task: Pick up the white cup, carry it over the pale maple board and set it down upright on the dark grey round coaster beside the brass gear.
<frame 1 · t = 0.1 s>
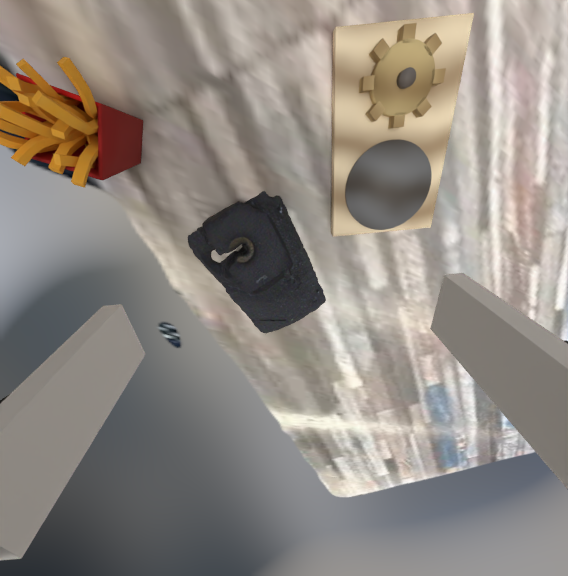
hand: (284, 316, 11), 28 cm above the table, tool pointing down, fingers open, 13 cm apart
gear board: (386, 144, 32), on the table
dark slate chunk: (262, 268, 41), on the table
french fries: (115, 123, 30), on the table
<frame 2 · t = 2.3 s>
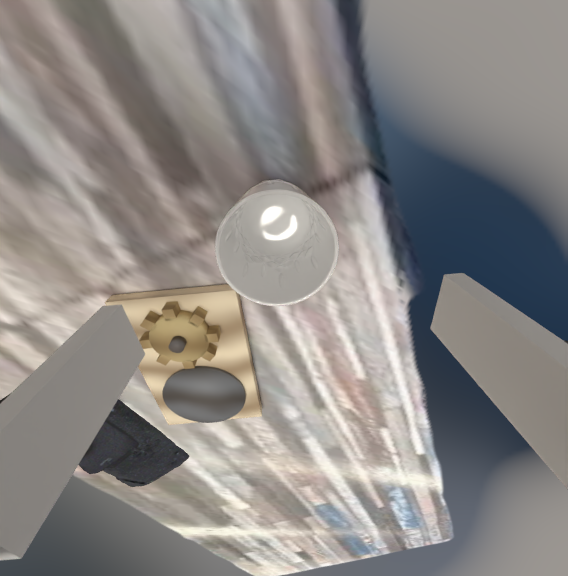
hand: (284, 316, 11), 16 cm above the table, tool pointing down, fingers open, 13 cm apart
gear board: (199, 360, 34), on the table
dark slate chunk: (119, 435, 43), on the table
white cup: (275, 215, 25), on the table
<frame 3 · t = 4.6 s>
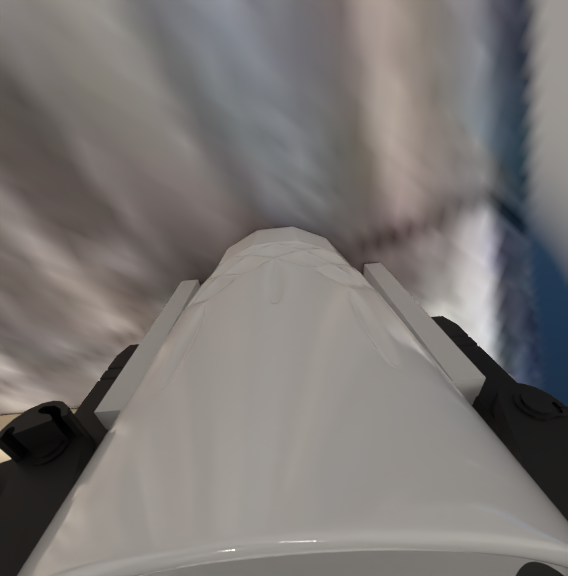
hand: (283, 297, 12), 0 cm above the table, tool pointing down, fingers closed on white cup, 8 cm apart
white cup: (282, 291, 13), on the table, touching gripper
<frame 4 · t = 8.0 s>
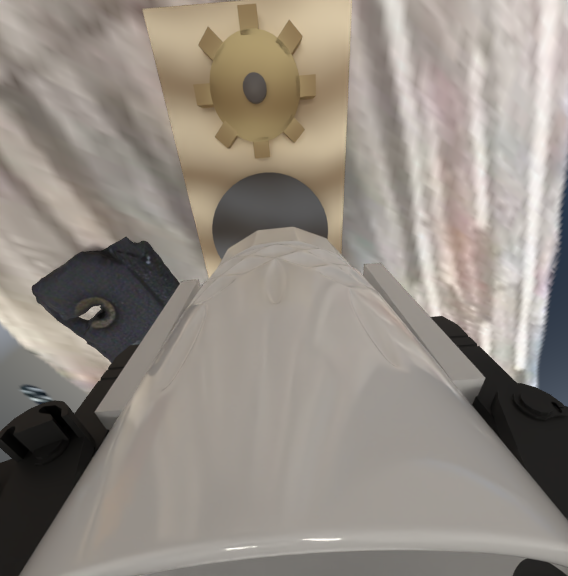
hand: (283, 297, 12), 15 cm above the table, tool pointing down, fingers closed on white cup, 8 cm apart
gear board: (265, 176, 24), on the table
dark slate chunk: (149, 324, 32), on the table
white cup: (283, 291, 13), point 15 cm above the table, touching gripper
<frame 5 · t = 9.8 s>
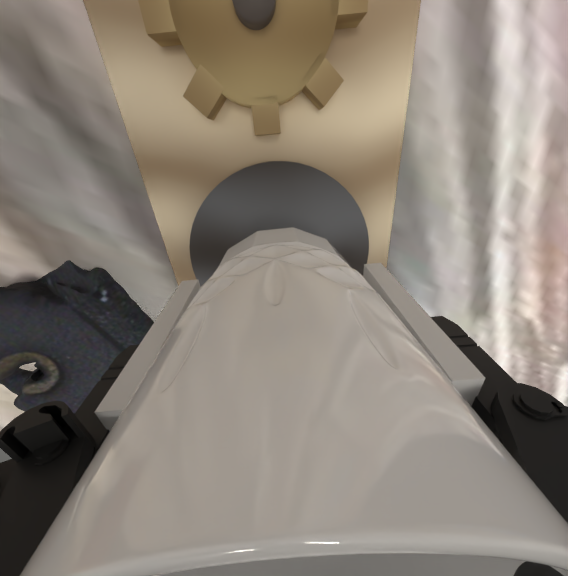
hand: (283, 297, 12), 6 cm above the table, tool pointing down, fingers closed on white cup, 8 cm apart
gear board: (271, 169, 15), on the table
dark slate chunk: (118, 373, 24), on the table
white cup: (282, 292, 13), point 6 cm above the table, touching gripper
when the fingers open (4 cm above the table, at t = 11.2 s): white cup drops 1 cm, resting on gear board.
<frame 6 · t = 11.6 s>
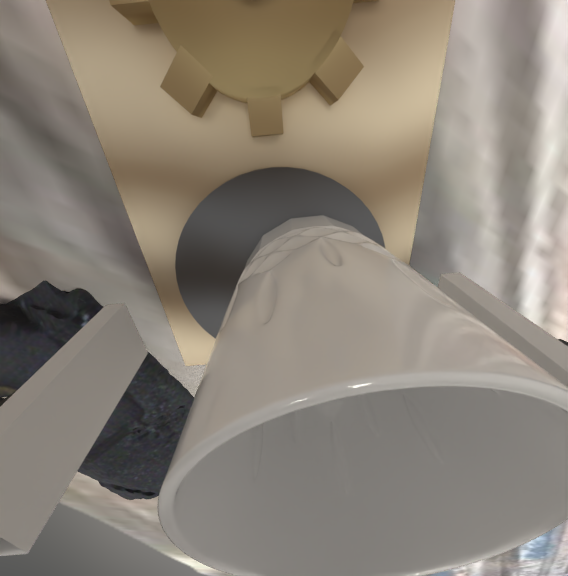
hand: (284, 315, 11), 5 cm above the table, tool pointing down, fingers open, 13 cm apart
gear board: (272, 175, 13), on the table
dark slate chunk: (106, 400, 22), on the table
white cup: (309, 276, 14), point 2 cm above the table, touching gear board
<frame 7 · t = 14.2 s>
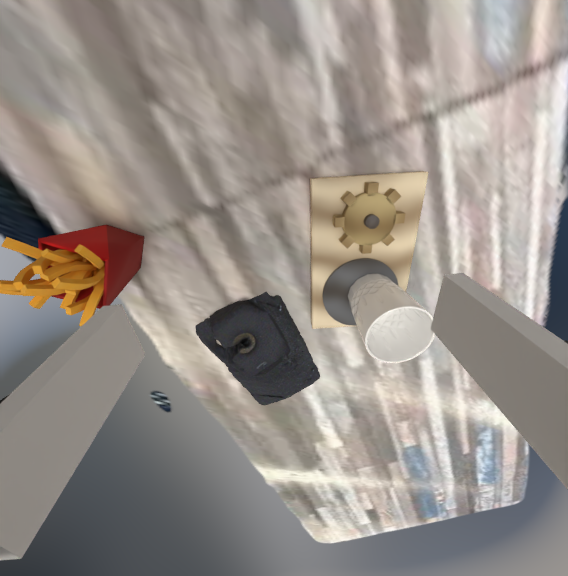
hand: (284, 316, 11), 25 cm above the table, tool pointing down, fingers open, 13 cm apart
gear board: (359, 257, 37), on the table
dark slate chunk: (262, 349, 45), on the table
french fries: (119, 238, 35), on the table
white cup: (370, 293, 37), point 2 cm above the table, touching gear board
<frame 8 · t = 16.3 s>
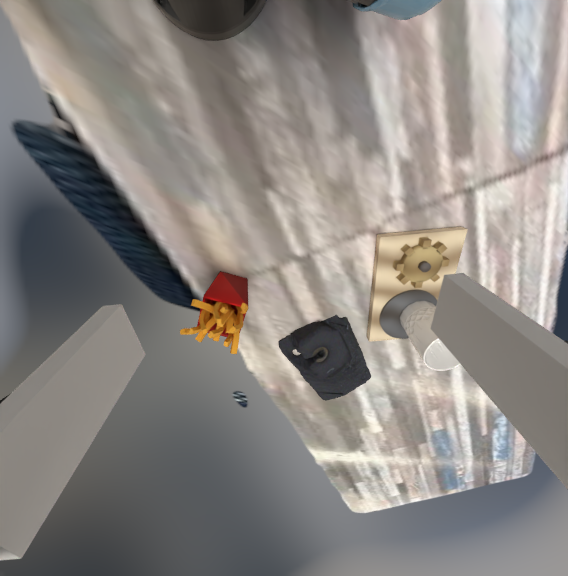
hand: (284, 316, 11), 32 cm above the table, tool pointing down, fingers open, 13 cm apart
gear board: (408, 287, 48), on the table
dark slate chunk: (327, 356, 56), on the table
french fries: (228, 279, 46), on the table
white cup: (416, 314, 48), point 2 cm above the table, touching gear board
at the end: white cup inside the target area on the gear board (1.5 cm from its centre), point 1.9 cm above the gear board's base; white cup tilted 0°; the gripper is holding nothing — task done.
